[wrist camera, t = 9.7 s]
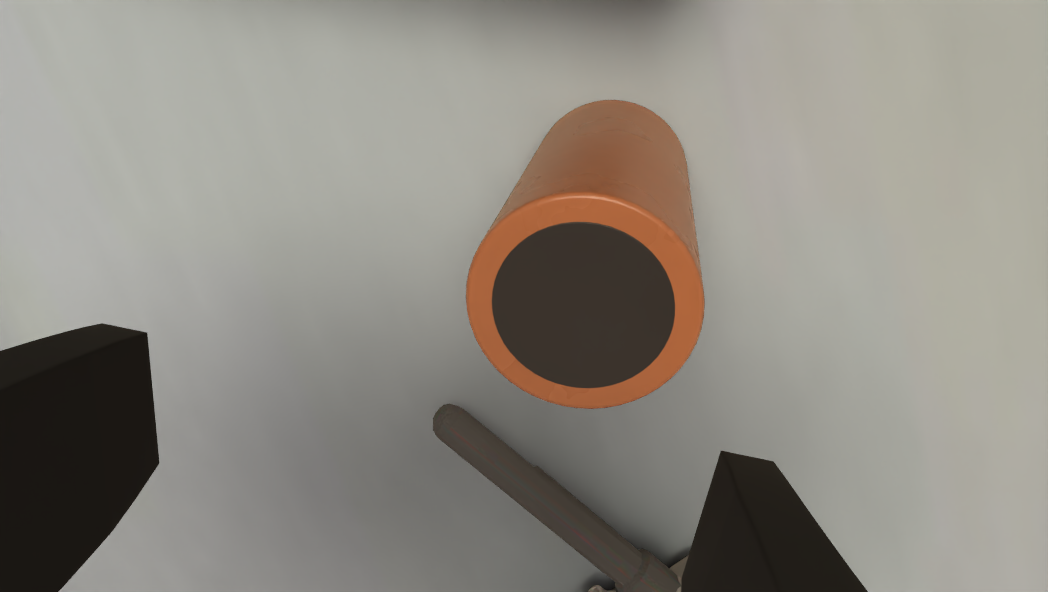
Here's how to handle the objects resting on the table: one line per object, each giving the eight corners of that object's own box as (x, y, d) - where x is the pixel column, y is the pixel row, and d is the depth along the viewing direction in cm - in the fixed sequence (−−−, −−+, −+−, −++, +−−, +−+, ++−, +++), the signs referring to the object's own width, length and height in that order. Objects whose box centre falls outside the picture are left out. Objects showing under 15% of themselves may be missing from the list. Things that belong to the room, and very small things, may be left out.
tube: (525, 231, 18) (452, 385, 12) (547, 87, 16) (478, 171, 10) (668, 259, 18) (674, 432, 11) (703, 114, 16) (733, 219, 10)
